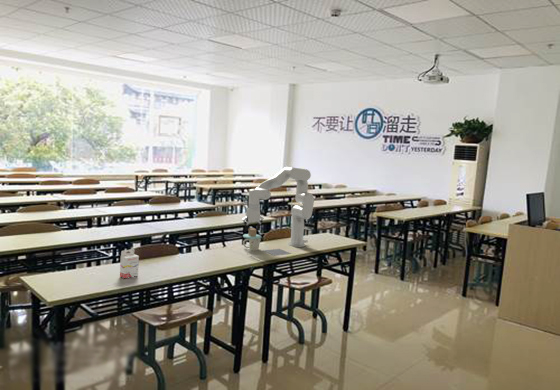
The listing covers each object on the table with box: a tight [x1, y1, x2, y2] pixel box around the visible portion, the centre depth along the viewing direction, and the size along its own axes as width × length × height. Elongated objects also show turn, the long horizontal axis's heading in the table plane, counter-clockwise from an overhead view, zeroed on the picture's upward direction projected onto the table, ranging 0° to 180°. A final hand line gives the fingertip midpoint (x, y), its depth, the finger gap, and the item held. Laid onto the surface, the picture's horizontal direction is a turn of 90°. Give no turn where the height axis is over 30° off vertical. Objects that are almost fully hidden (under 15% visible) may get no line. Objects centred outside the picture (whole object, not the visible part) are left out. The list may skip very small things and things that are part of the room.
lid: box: [242, 227, 262, 239], centre depth 321 cm, size 13×13×6 cm
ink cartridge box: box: [119, 248, 140, 279], centre depth 245 cm, size 9×5×15 cm, turn 141°
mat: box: [262, 248, 292, 257], centre depth 318 cm, size 15×15×1 cm
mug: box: [242, 238, 261, 251], centre depth 322 cm, size 8×13×10 cm, turn 89°
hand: (252, 229), depth 321 cm, fingers open, 9 cm apart
